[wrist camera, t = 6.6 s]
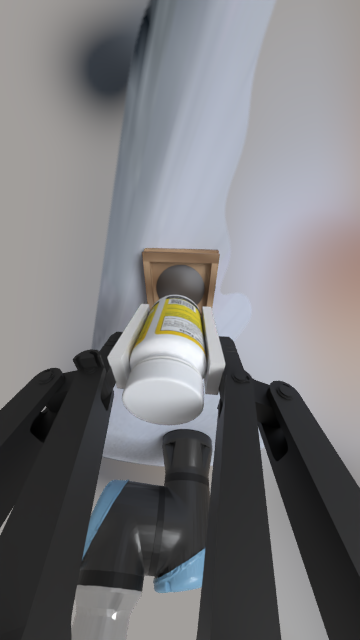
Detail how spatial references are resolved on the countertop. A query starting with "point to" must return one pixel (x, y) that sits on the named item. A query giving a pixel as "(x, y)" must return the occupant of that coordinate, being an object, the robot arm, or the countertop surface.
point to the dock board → (181, 274)
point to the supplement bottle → (168, 364)
